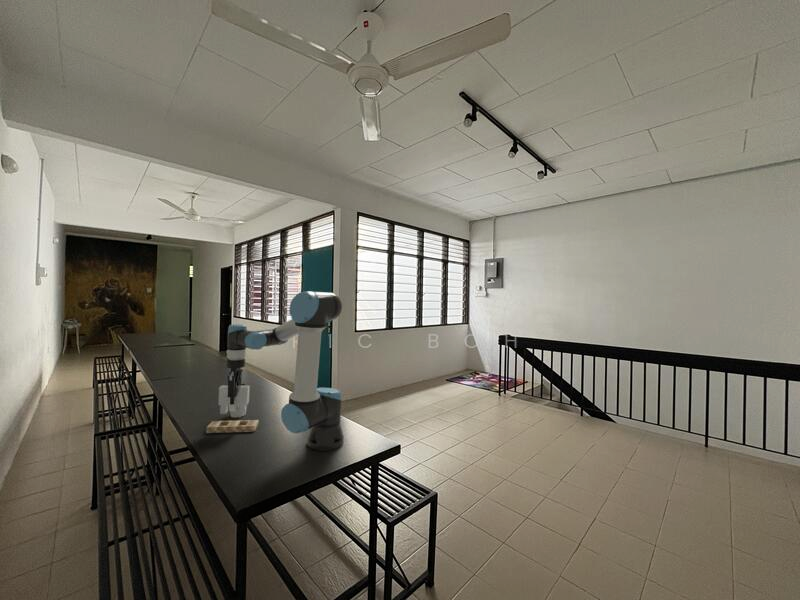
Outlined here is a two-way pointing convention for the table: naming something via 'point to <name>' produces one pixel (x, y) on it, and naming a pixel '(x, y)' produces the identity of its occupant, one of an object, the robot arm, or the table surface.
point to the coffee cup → (237, 410)
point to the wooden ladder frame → (232, 426)
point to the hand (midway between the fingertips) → (233, 409)
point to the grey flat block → (241, 398)
